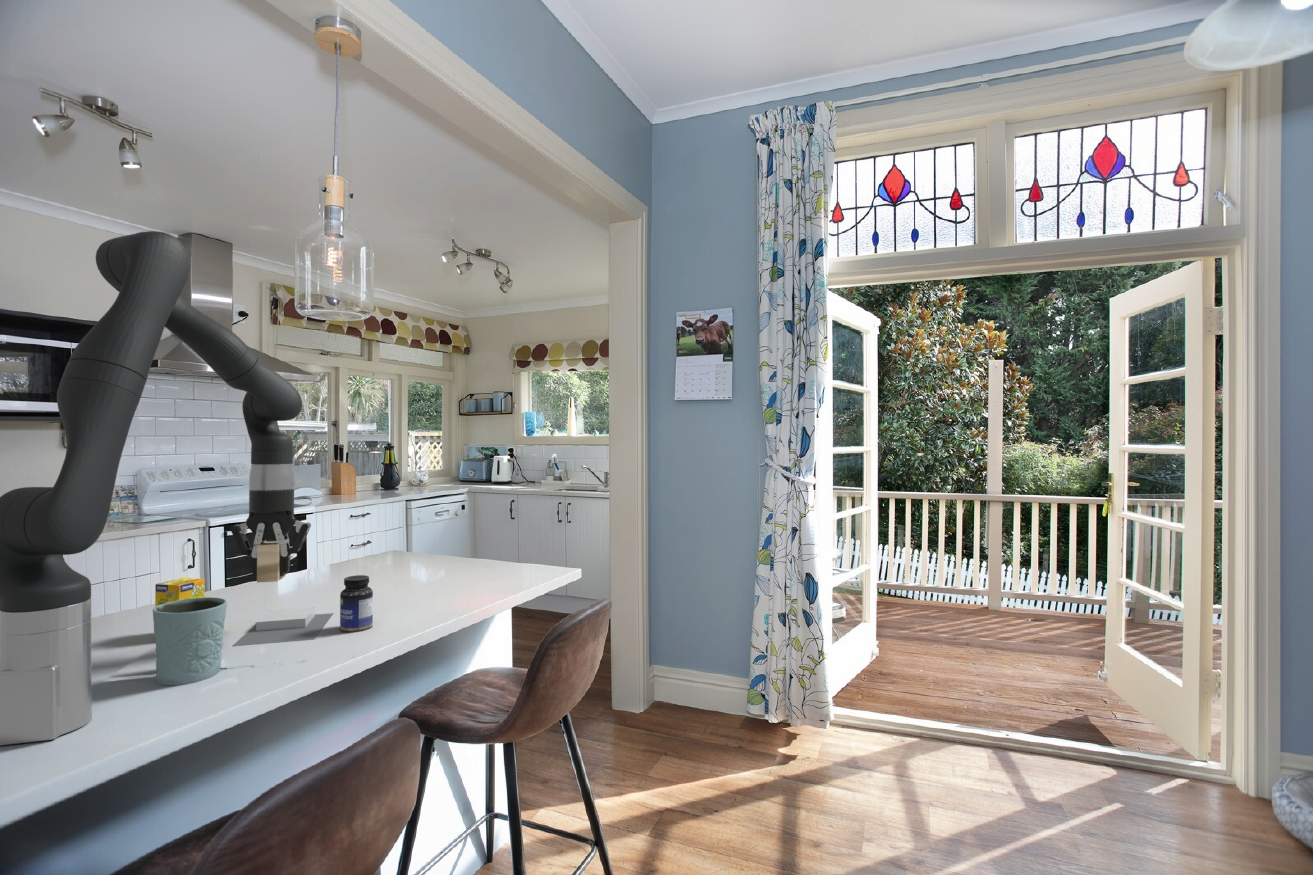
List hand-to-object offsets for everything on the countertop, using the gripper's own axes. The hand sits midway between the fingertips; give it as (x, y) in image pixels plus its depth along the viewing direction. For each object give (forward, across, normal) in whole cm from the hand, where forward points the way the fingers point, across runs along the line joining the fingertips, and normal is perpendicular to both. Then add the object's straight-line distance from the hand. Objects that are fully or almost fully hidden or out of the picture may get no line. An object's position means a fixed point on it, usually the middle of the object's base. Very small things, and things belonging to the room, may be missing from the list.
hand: (271, 575), depth 124 cm
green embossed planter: (+14, -8, -15) cm, 22 cm away
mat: (+13, +1, +8) cm, 15 cm away
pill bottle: (+13, +15, +4) cm, 20 cm away
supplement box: (+13, -19, +11) cm, 26 cm away
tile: (+11, 0, +7) cm, 13 cm away
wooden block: (+1, 0, +4) cm, 4 cm away
